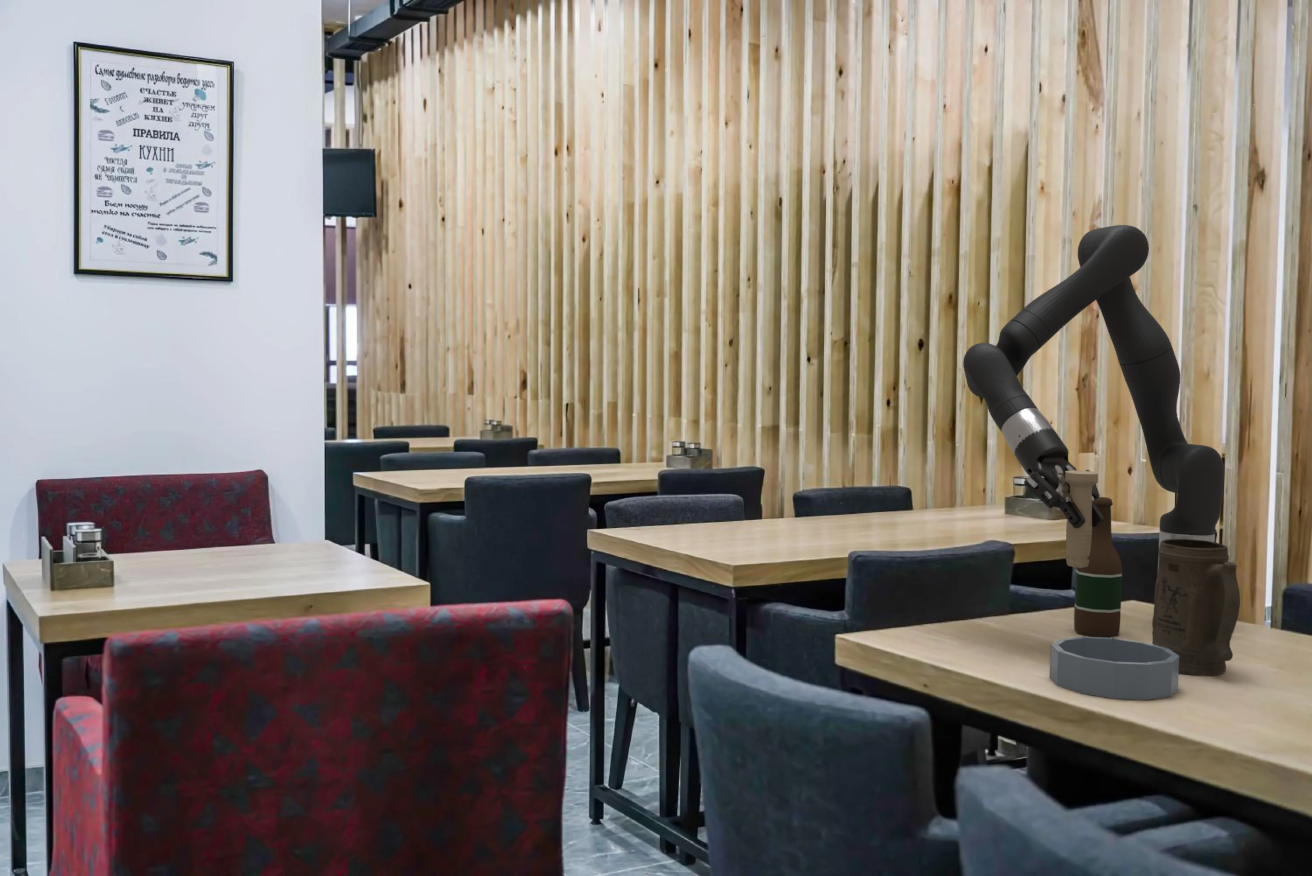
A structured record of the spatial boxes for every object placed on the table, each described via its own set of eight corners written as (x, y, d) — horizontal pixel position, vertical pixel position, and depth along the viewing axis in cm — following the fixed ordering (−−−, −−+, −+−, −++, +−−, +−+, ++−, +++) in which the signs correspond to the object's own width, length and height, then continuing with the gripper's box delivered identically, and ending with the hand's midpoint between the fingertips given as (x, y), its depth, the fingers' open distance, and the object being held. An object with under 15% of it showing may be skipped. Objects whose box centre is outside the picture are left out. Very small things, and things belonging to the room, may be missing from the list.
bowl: (1111, 665, 186) (1112, 633, 185) (1202, 692, 170) (1203, 658, 170) (1026, 675, 179) (1028, 642, 178) (1113, 704, 163) (1115, 668, 163)
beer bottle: (1124, 632, 210) (1129, 497, 209) (1114, 640, 204) (1120, 501, 202) (1078, 626, 214) (1083, 494, 213) (1068, 634, 208) (1073, 497, 206)
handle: (1093, 564, 191) (1097, 471, 190) (1094, 570, 185) (1098, 474, 184) (1061, 562, 192) (1065, 470, 191) (1061, 568, 186) (1065, 473, 185)
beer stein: (1131, 660, 189) (1143, 537, 186) (1181, 655, 193) (1193, 534, 191) (1210, 691, 175) (1224, 558, 172) (1263, 685, 179) (1277, 555, 177)
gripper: (1015, 427, 190) (1072, 511, 180) (1077, 426, 197) (1135, 508, 187) (990, 457, 195) (1044, 541, 185) (1051, 456, 202) (1106, 537, 192)
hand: (1089, 524), depth 186 cm, fingers closed on handle, 3 cm apart
